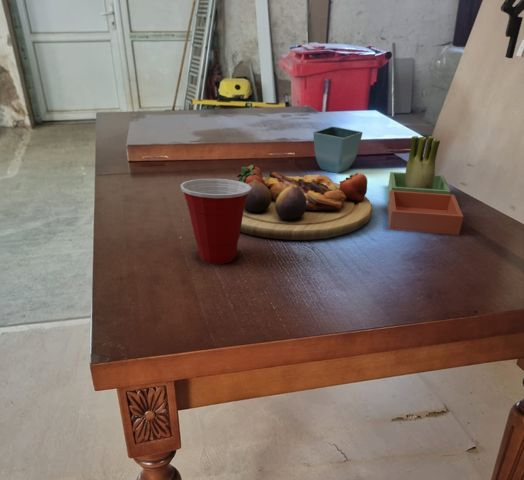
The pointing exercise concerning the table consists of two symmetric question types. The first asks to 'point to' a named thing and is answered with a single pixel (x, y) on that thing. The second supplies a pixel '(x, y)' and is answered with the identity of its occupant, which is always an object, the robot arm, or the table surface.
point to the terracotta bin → (424, 212)
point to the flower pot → (336, 148)
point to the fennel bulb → (421, 163)
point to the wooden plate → (303, 205)
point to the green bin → (399, 185)
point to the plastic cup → (216, 216)
